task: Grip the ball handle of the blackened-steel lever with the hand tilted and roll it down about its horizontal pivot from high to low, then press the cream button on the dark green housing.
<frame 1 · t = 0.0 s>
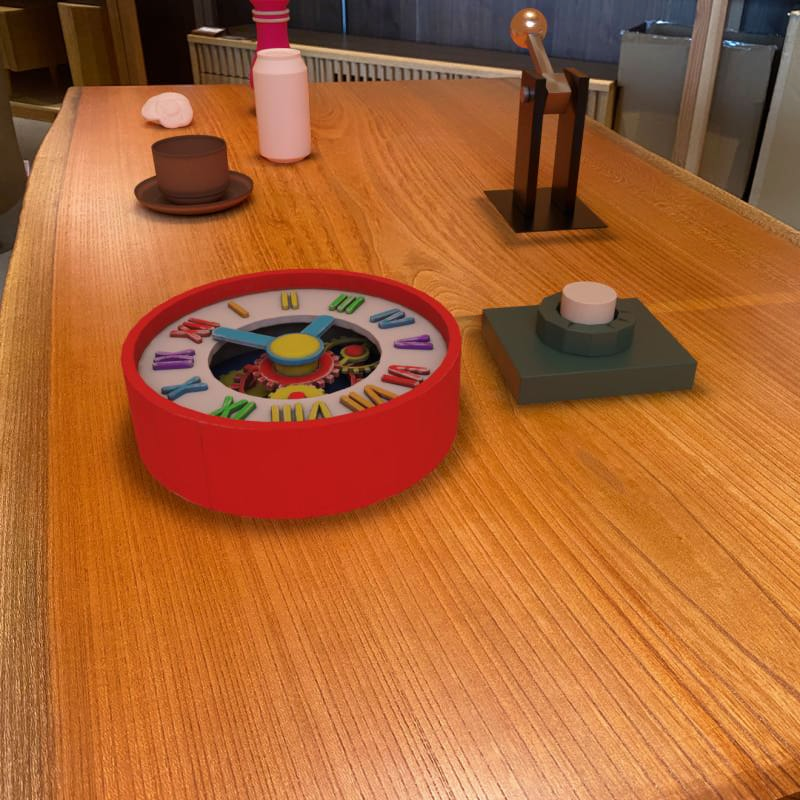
cup and saucer: (197, 206, 87), on the table
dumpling: (168, 127, 114), on the table
bracket: (541, 219, 83), on the table
lever: (540, 58, 80), point 14 cm above the table, hinge at 25.0°
button: (588, 303, 57), point 4 cm above the table, slide at 0.1 cm
toy clock: (300, 419, 53), on the table
beverage can: (286, 160, 101), on the table
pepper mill: (278, 113, 120), on the table
button box: (580, 361, 59), on the table
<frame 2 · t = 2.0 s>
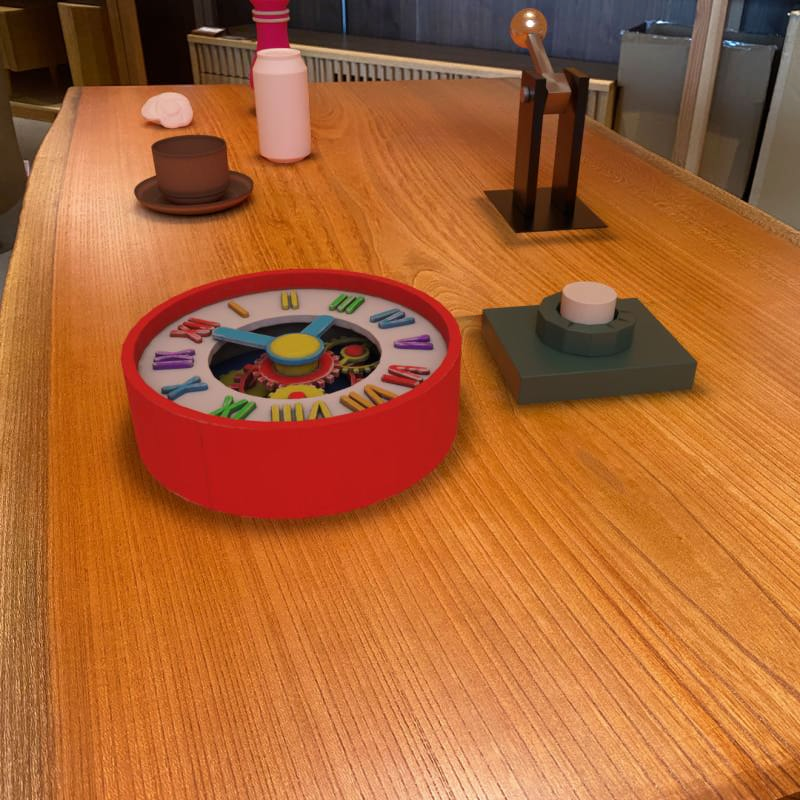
nothing on the table moved.
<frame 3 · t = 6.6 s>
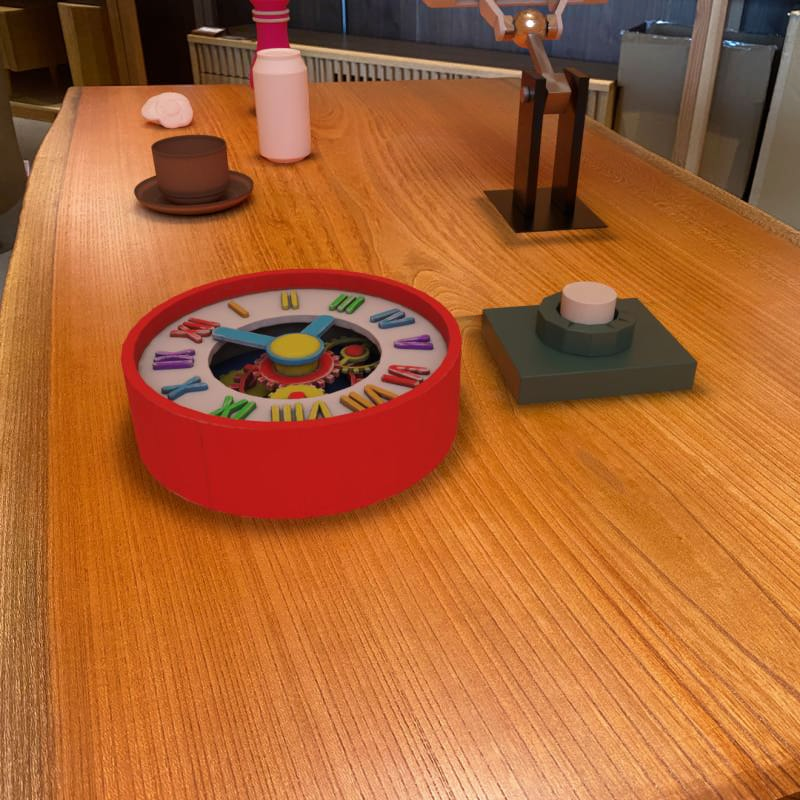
hand: (530, 36, 82), 16 cm above the table, tool tilted 45°, fingers closed on lever, 3 cm apart
lever: (540, 58, 80), point 14 cm above the table, hinge at 25.0°, touching gripper
everything else where it was.
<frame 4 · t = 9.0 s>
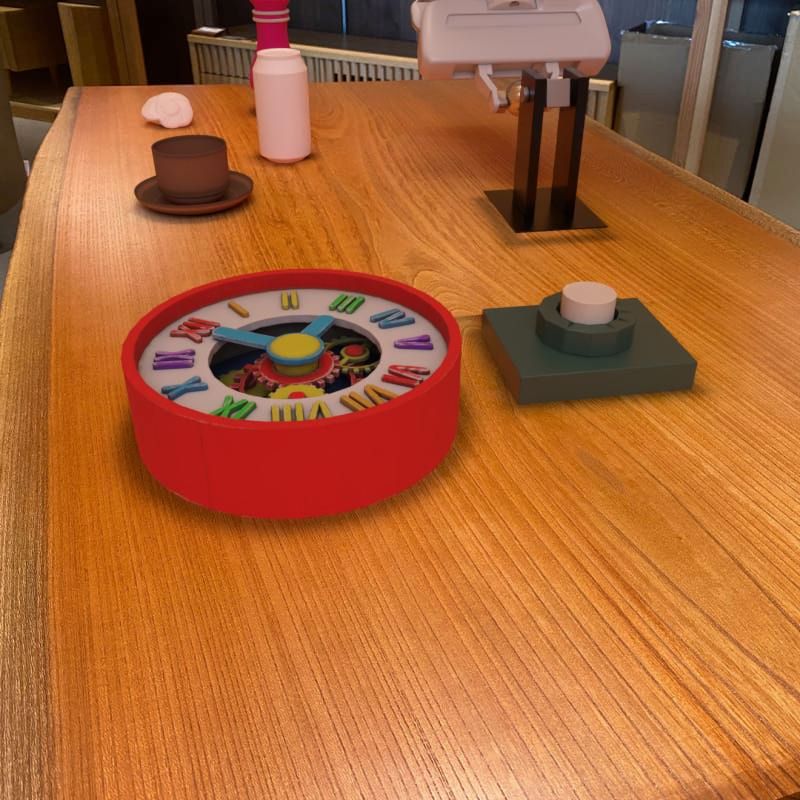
hand: (522, 109, 86), 8 cm above the table, tool tilted 45°, fingers closed on lever, 3 cm apart
lever: (535, 96, 82), point 11 cm above the table, hinge at -14.7°, touching gripper
everything else where it was.
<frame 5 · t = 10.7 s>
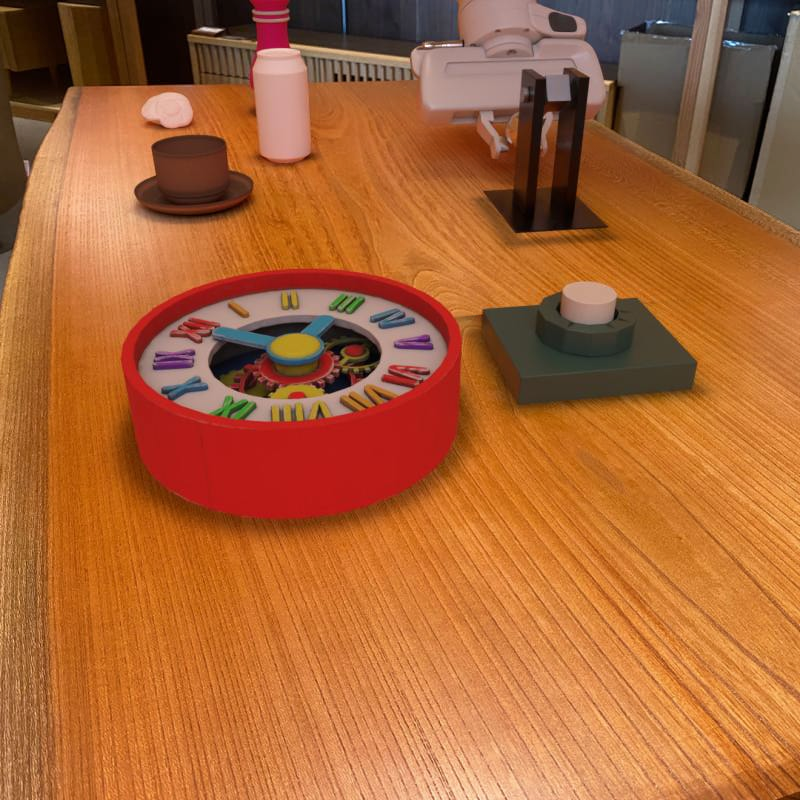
hand: (520, 155, 89), 4 cm above the table, tool tilted 45°, fingers closed on lever, 3 cm apart
lever: (536, 113, 82), point 9 cm above the table, hinge at -32.6°, touching gripper
everything else where it was.
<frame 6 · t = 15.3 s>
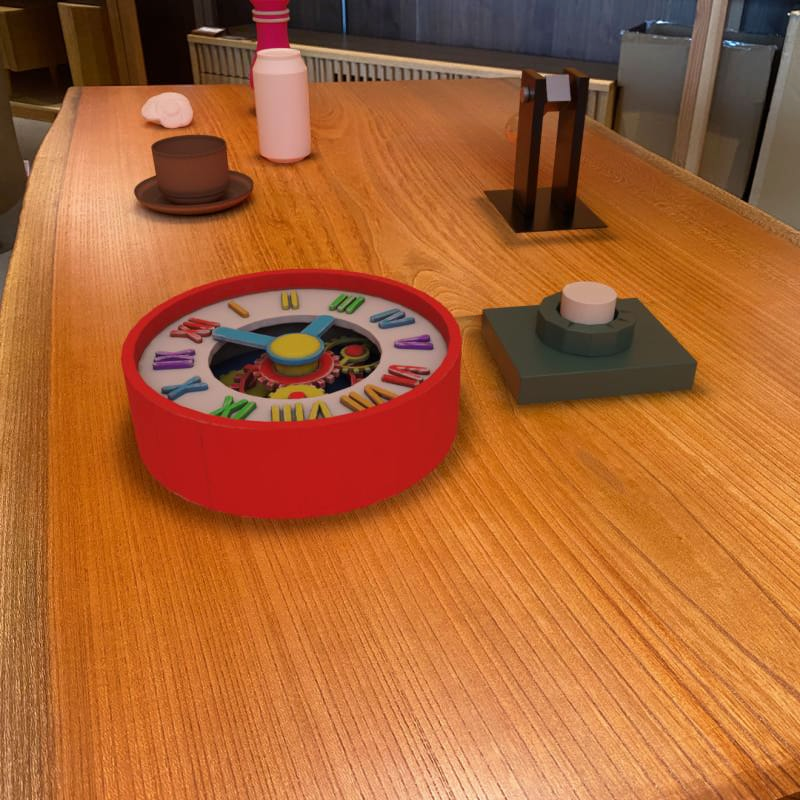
lever: (536, 113, 82), point 9 cm above the table, hinge at -32.6°
everything else where it was.
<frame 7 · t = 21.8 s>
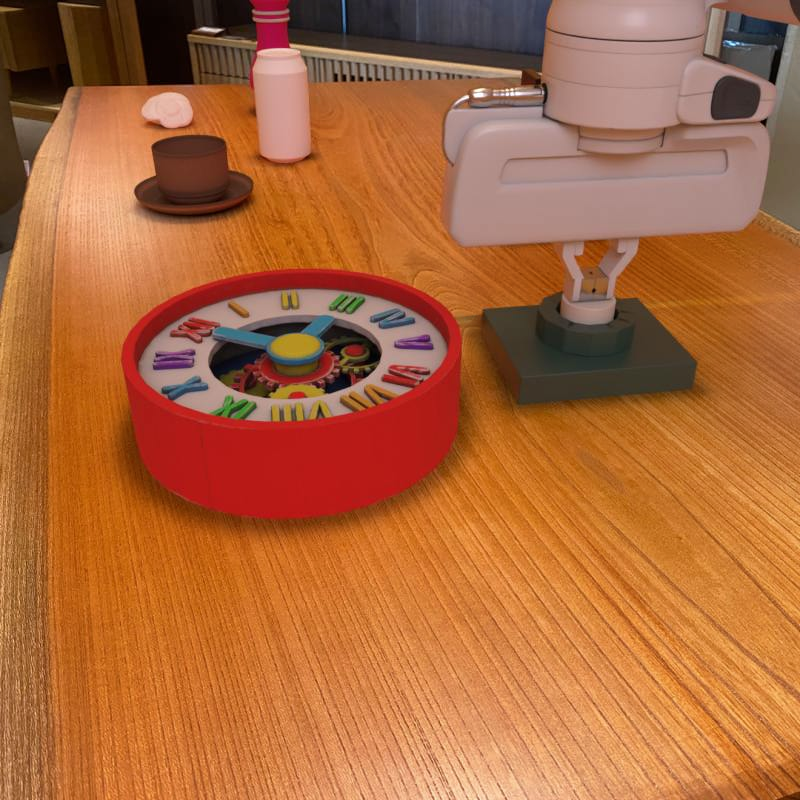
hand: (587, 297, 57), 5 cm above the table, tool pointing down, fingers closed, pressing on button
button: (587, 309, 57), point 4 cm above the table, slide at -0.3 cm, touching gripper
everything else where it was.
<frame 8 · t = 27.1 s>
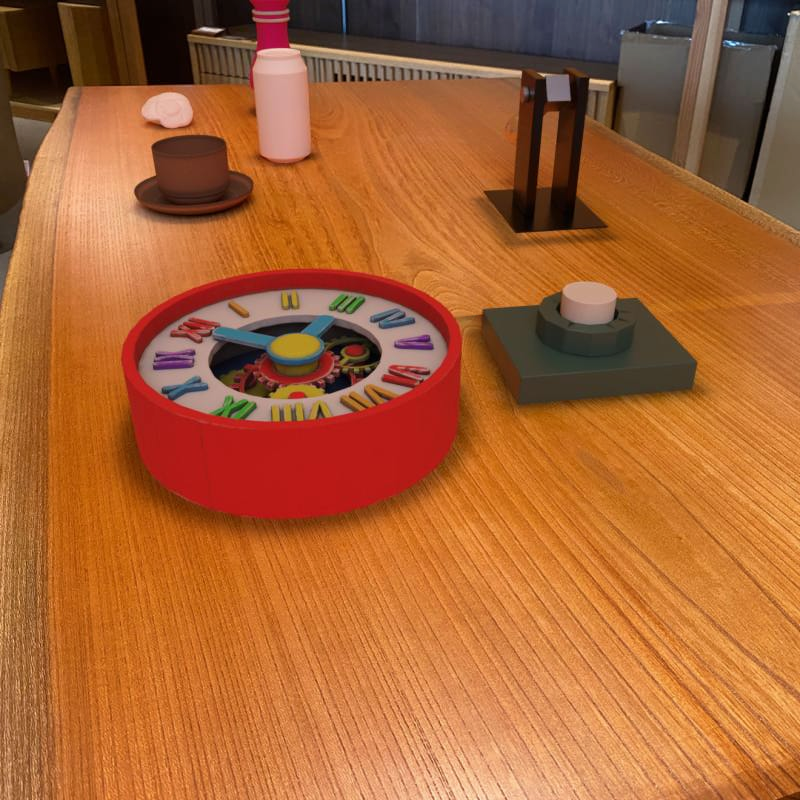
button: (588, 303, 57), point 4 cm above the table, slide at 0.1 cm
everything else where it was.
at the end: lever at -33° (first picture: +25°); button pushed in 1.0 cm at the most during the clip, back to where it started at the end; button slide at 0.1 cm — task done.
